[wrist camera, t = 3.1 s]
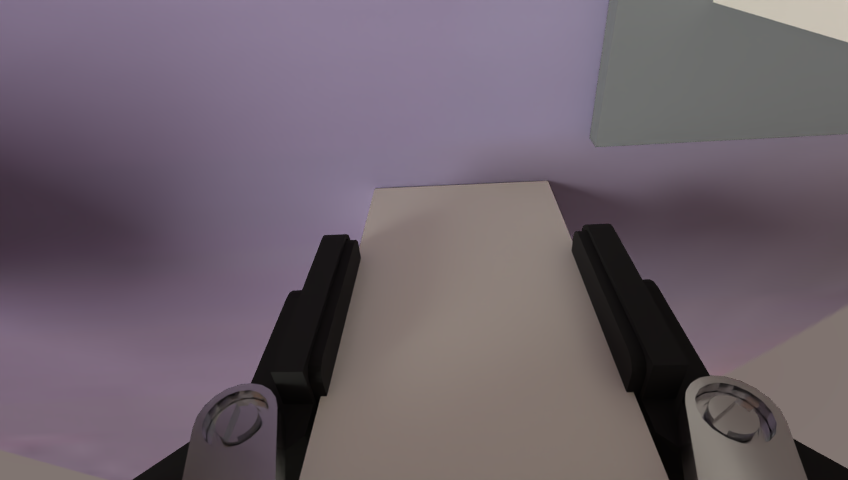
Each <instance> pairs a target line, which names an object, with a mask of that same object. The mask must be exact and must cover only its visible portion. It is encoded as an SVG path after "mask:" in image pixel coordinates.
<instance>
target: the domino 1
mask: <svg viewBox="0 0 848 480" xmlns="http://www.w3.org/2000/svg"><path fill="white" fill-rule="evenodd" d="M572 243H573V242H572V239H571V237H570V234H569V232H568V229H567V227H566V224H565V222H564V220H563V217H562V215H561V212H560V210H559V207H558V205H557V202H556V200H555V197H554V195H553V192H552V190H551V187H550V185H549V182H548V181H534V182H512V183H490V184H467V185H445V186H423V187H401V188H379V189H375V190H374V193H373V197H372V201H371V205H370V209H369V213H368V217H367V220H366V224H365V228H364V232H363V236H362V240H361V243H360V247H359V250H360V255H361V260H360V264H359V268H358V273H357V277H356V281H355V285H354V289H353V293H352V297H351V301H350V305H349V309H348V313H347V317H346V321H345V325H344V329H343V333H342V337H341V341H340V345H339V349H338V354H337V358H336V362H335V366H334V370H333V374H332V378H331V382H330V386H329V390H328V394H327V396H321V397H320V401H319V405H318V409H317V413H316V416H315V420H314V424H313V428H312V432H311V436H310V440H309V443H308V447H307V451H306V455H305V459H304V463H303V466H302V470H301V474H300V478H299V480H669V479H668V476H667V474H666V471H665V469H664V466H663V464H662V461H661V459H660V456H659V454H658V452H657V449H656V447H655V444H654V442H653V439H652V437H651V434H650V432H649V429H648V427H647V424H646V422H645V419H644V417H643V414H642V412H641V410H640V407H639V405H638V402H637V400H636V397H635V395H634V392H626V390H625V387H624V385H623V382H622V380H621V377H620V375H619V372H618V369H617V367H616V364H615V362H614V359H613V357H612V354H611V351H610V349H609V346H608V344H607V341H606V339H605V336H604V333H603V331H602V328H601V326H600V323H599V321H598V318H597V315H596V313H595V310H594V308H593V305H592V303H591V300H590V297H589V295H588V292H587V290H586V287H585V285H584V282H583V279H582V277H581V274H580V272H579V269H578V267H577V264H576V261H575V259H574V256H573V254H572V251H571V250H572Z"/></svg>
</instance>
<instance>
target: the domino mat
mask: <svg viewBox="0 0 848 480" xmlns="http://www.w3.org/2000/svg"><path fill="white" fill-rule="evenodd" d="M838 134H848V42H845V41H842V40H838V39H835V38H832V37H828V36H825V35H821V34H818V33H815V32H811V31H808V30H805V29H801V28H798V27H795V26H791V25H788V24H784V23H781V22H778V21H774V20H771V19H768V18H764V17H761V16H758V15H754V14H751V13H748V12H744V11H741V10H737V9H734V8H731V7H727V6H724V5H721V4H717V3H714V2H713V0H609V7H608V14H607V21H606V27H605V34H604V41H603V48H602V55H601V62H600V69H599V76H598V83H597V90H596V97H595V104H594V110H593V117H592V124H591V131H590V139H591V141H592V142H593V144H594V145H595V147H607V146H626V145H645V144H664V143H684V142H703V141H722V140H742V139H761V138H780V137H799V136H819V135H838Z"/></svg>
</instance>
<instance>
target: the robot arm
mask: <svg viewBox="0 0 848 480" xmlns="http://www.w3.org/2000/svg"><path fill="white" fill-rule="evenodd" d="M571 251H572V254H573V256H574V259H575V261H576V264H577V267H578V269H579V272H580V274H581V277H582V279H583V282H584V285H585V287H586V290H587V292H588V295H589V297H590V300H591V303H592V305H593V308H594V310H595V313H596V315H597V318H598V321H599V323H600V326H601V328H602V331H603V333H604V336H605V339H606V341H607V344H608V346H609V349H610V351H611V354H612V357H613V359H614V362H615V364H616V367H617V369H618V372H619V375H620V377H621V380H622V382H623V385H624V387H625V390H626V392H634V395H635V397H636V400H637V402H638V405H639V407H640V410H641V412H642V414H643V417H644V419H645V422H646V424H647V427H648V429H649V432H650V434H651V437H652V439H653V442H654V444H655V447H656V449H657V452H658V454H659V456H660V459H661V461H662V464H663V466H664V469H665V471H666V474H667V476H668V479H669V480H848V469H847V468H845V467H843V466H842V465H840V464H838V463H836V462H834V461H833V460H831V459H829V458H827V457H825V456H824V455H822V454H820V453H818V452H816V451H814V450H813V449H811V448H809V447H807V446H805V445H803V444H802V443H800V442H798V441H796V440H794V439H793V437H792V435H791V432H790V429H789V426H788V423H787V421H786V419H785V417H784V416H783V414H782V412H781V410H780V409H779V408H778V407H777V406H776V405H775V404H774V403H773V401H772V400H771V399H770V398H769V397H767V396H766V395H765V394H763V393H762V392H760V391H759V390H758V389H756V388H754V387H752V386H750V385H748V384H746V383H744V382H742V381H739V380H736V379H733V378H729V377H725V376H710V375H709V373H708V372H707V370H706V368H705V366H704V365H703V363H702V361H701V360H700V358H699V356H698V355H697V353H696V351H695V349H694V348H693V346H692V344H691V343H690V341H689V339H688V337H687V336H686V334H685V332H684V331H683V329H682V327H681V326H680V324H679V322H678V320H677V319H676V317H675V315H674V314H673V312H672V310H671V309H670V307H669V305H668V303H667V302H666V300H665V298H664V297H663V295H662V293H661V292H660V290H659V288H658V286H657V285H656V284H655V283H654V281H652V280H642V278H641V277H640V275H639V273H638V271H637V269H636V268H635V266H634V264H633V262H632V260H631V259H630V257H629V255H628V253H627V251H626V250H625V248H624V246H623V244H622V242H621V241H620V239H619V237H618V235H617V233H616V232H615V230H614V228H613V226H612V225H611V224H593V225H584V226H583V228H582V231H576V232H575V233H574V236H573V243H572V250H571ZM360 260H361V255H360V250H359V245H358V242H357V240H350V238H349V235H347V234H343V235H324V236H323V238H322V240H321V243H320V245H319V248H318V250H317V253H316V256H315V258H314V261H313V263H312V266H311V269H310V271H309V274H308V276H307V279H306V282H305V284H304V287H303V289H302V290H299V291H292V292H290V293H289V295H288V297H287V299H286V301H285V303H284V306H283V308H282V310H281V313H280V315H279V318H278V320H277V322H276V325H275V327H274V330H273V332H272V334H271V337H270V339H269V342H268V344H267V346H266V349H265V351H264V354H263V356H262V358H261V361H260V363H259V365H258V368H257V370H256V373H255V375H254V377H253V380H252V382H251V383H249V384H240V385H237V386H234V387H231V388H228V389H226V390H224V391H223V392H221V393H219V394H218V395H216V396H215V397H214V398H212V399H211V400H210V401H209V402H208V403H207V404H206V405H205V406H204V407H203V409H202V410H201V411H200V413H199V414H198V416H197V418H196V420H195V423H194V426H193V429H192V434H191V439H190V442H188V443H187V444H185V445H184V446H182V447H181V448H179V449H178V450H176V451H175V452H173V453H172V454H170V455H169V456H167V457H166V458H164V459H163V460H161V461H160V462H158V463H157V464H155V465H154V466H152V467H151V468H149V469H148V470H146V471H145V472H143V473H142V474H140V475H139V476H137V477H136V478H134V479H133V480H299V478H300V474H301V470H302V466H303V463H304V459H305V455H306V451H307V447H308V443H309V440H310V436H311V432H312V428H313V424H314V420H315V416H316V413H317V409H318V405H319V401H320V397H321V396H327V394H328V390H329V386H330V382H331V378H332V374H333V370H334V366H335V362H336V358H337V354H338V349H339V345H340V341H341V337H342V333H343V329H344V325H345V321H346V317H347V313H348V309H349V305H350V301H351V297H352V293H353V289H354V285H355V281H356V277H357V273H358V268H359V264H360Z"/></svg>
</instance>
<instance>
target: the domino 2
mask: <svg viewBox="0 0 848 480" xmlns="http://www.w3.org/2000/svg"><path fill="white" fill-rule="evenodd" d="M713 2H714V3H717V4H721V5H724V6H727V7H731V8H734V9H737V10H741V11H744V12H748V13H751V14H754V15H758V16H761V17H764V18H768V19H771V20H774V21H778V22H781V23H784V24H788V25H791V26H795V27H798V28H801V29H805V30H808V31H811V32H815V33H818V34H821V35H825V36H828V37H832V38H835V39H838V40H842V41H845V42H848V0H713Z"/></svg>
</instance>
